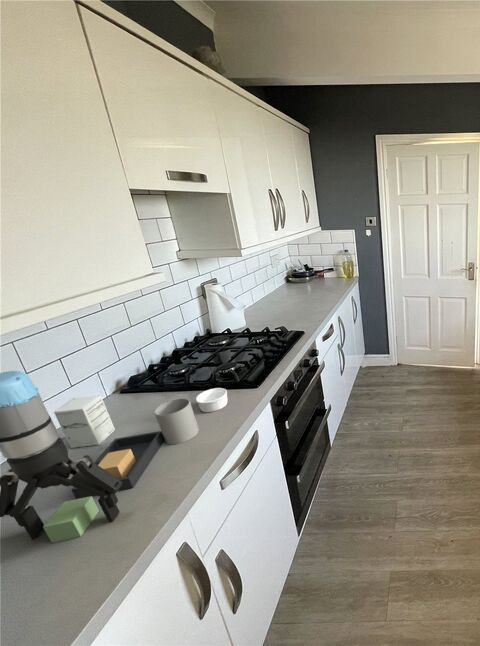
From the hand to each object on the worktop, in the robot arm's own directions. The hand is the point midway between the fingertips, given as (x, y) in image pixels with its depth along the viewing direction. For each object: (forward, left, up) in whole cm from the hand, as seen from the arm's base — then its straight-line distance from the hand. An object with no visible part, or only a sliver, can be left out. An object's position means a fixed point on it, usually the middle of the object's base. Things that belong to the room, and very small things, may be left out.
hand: (77, 525), depth 75 cm
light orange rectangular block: (+1, +15, 0) cm, 15 cm away
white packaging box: (-14, +34, 0) cm, 37 cm away
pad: (0, 0, 0) cm, 0 cm away
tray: (+1, +18, 0) cm, 18 cm away
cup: (+11, +28, 0) cm, 30 cm away
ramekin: (+16, +42, 0) cm, 45 cm away
